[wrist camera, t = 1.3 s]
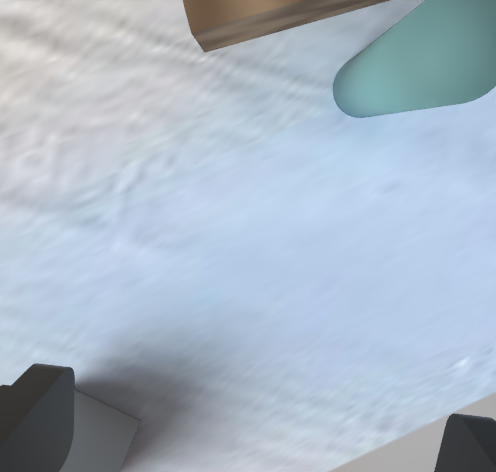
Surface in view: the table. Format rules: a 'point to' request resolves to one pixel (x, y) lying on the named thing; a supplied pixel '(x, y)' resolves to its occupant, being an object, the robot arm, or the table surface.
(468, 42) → the pin
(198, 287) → the table surface
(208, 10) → the bore block
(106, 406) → the perfume bottle
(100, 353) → the table surface
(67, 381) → the robot arm
